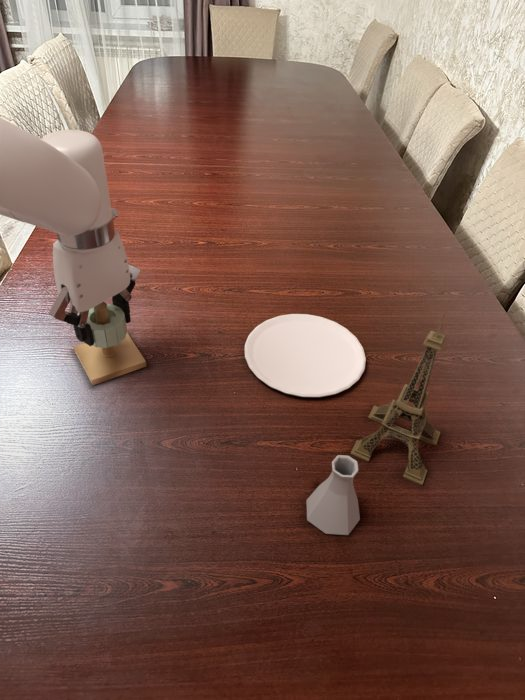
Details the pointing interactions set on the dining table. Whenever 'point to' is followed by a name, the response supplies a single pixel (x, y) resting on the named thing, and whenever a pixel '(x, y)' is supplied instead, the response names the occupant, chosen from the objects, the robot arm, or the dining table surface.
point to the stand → (108, 354)
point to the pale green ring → (108, 328)
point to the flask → (336, 499)
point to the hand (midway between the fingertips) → (104, 329)
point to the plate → (305, 355)
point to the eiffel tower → (407, 415)
